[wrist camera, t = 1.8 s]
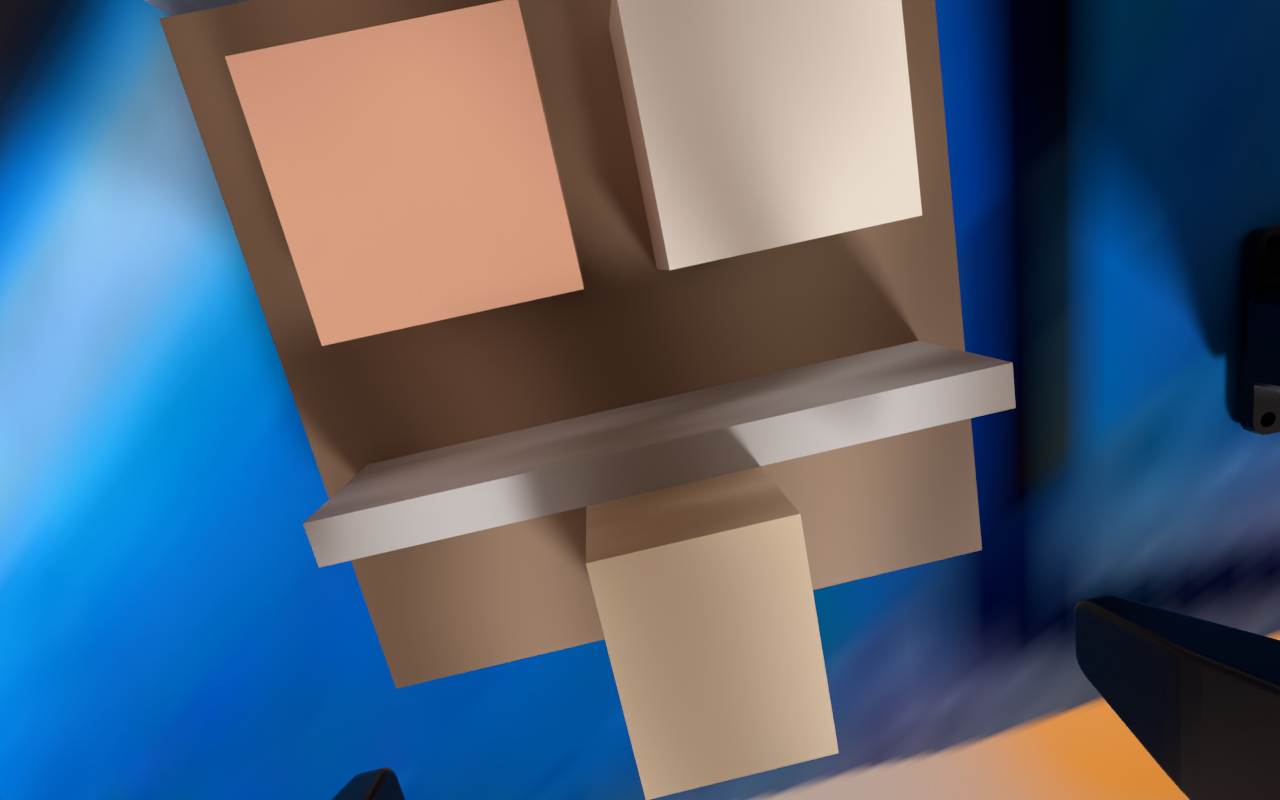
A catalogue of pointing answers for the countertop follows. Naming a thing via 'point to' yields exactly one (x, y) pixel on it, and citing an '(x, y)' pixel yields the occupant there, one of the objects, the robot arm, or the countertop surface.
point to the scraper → (683, 539)
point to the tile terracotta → (411, 169)
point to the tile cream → (765, 121)
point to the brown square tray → (596, 342)
